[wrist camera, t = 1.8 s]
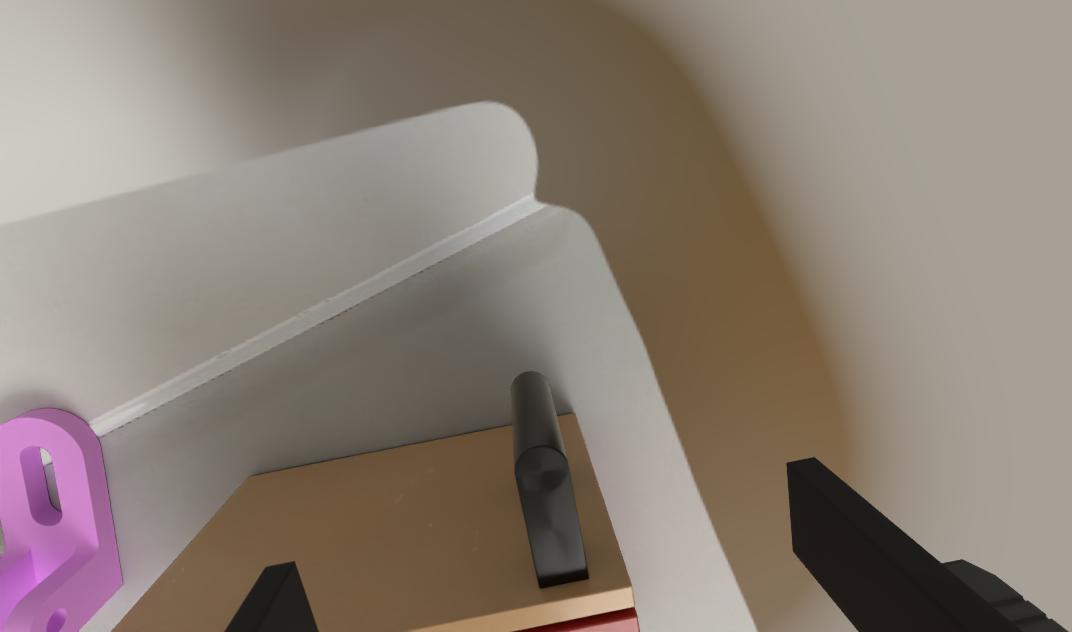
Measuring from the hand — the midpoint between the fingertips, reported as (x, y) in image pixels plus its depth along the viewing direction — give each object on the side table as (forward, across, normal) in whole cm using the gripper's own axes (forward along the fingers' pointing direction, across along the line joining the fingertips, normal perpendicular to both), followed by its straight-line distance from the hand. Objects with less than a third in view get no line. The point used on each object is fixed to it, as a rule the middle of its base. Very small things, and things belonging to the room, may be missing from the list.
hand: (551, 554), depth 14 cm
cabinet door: (+20, -8, -3) cm, 22 cm away
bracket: (+21, -31, -5) cm, 38 cm away
